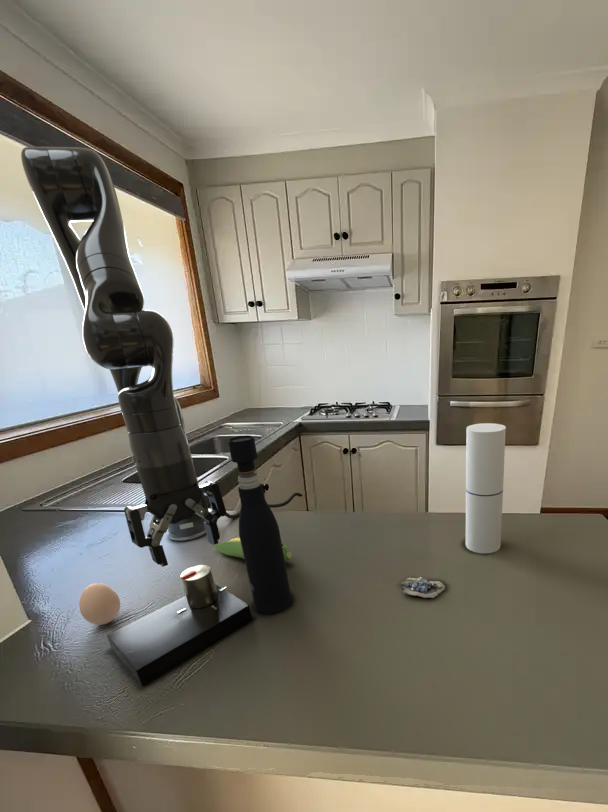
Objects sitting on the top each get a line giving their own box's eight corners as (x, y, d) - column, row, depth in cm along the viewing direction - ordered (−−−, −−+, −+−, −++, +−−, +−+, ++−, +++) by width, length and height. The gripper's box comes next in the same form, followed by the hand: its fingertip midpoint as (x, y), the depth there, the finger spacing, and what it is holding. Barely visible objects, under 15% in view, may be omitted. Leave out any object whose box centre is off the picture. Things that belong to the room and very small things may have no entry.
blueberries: (398, 580, 79) (397, 571, 78) (440, 575, 79) (440, 567, 78) (404, 602, 72) (403, 593, 72) (449, 596, 73) (449, 587, 72)
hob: (217, 593, 79) (213, 578, 78) (255, 618, 71) (251, 602, 70) (111, 648, 67) (105, 633, 66) (142, 687, 59) (135, 669, 58)
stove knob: (209, 588, 76) (201, 560, 73) (223, 597, 72) (215, 568, 70) (183, 601, 72) (174, 572, 70) (196, 612, 69) (188, 582, 67)
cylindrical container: (462, 551, 87) (462, 431, 77) (468, 535, 93) (470, 422, 83) (498, 555, 84) (503, 432, 75) (502, 539, 90) (507, 423, 81)
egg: (92, 616, 75) (77, 580, 72) (127, 607, 77) (114, 572, 74) (83, 636, 70) (67, 598, 67) (122, 626, 72) (108, 589, 69)
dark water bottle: (298, 594, 77) (270, 433, 65) (279, 616, 71) (245, 444, 60) (267, 590, 79) (235, 433, 68) (247, 611, 73) (209, 443, 62)
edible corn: (283, 573, 84) (279, 553, 83) (210, 556, 93) (205, 538, 91) (298, 560, 88) (295, 541, 87) (227, 545, 97) (223, 528, 95)
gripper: (121, 475, 55) (154, 580, 62) (219, 449, 65) (240, 542, 71) (102, 467, 60) (135, 565, 66) (196, 443, 70) (217, 531, 76)
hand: (189, 553), depth 69 cm, fingers open, 8 cm apart
